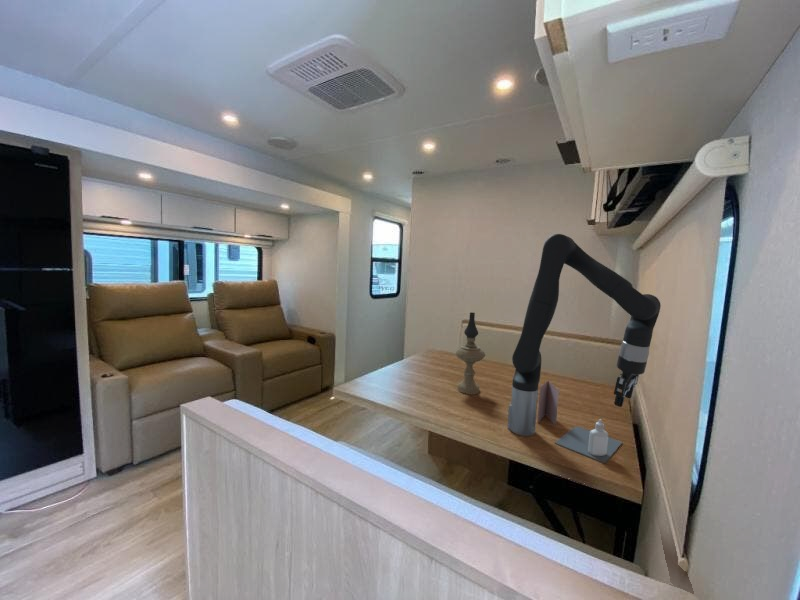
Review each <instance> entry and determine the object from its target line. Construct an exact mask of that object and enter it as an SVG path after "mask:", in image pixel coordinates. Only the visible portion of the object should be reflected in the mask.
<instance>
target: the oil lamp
mask: <svg viewBox="0 0 800 600" xmlns="http://www.w3.org/2000/svg"><path fill="white" fill-rule="evenodd" d="M475 314H476V313H475V312H473V311H472V312H469V321H468V324H467V326H466V328H465V329H464V330H463V334H464V335H465V336H466V343H465V344H462V345H461V346H460V347H458V348H457V349H456V351H455V352H454V353H455V355H456V357H457V358H458V359H459V360H461V361H463V362H464V363H465V365H466V367H465V368H464V370H463V371H462V372H463V375H464V378H463V380H462V381H461V382H459V383H458V384H457V392H459V391H460V393H461V392H462V393H461V394H465V393H466V395H476V394H479V393H480V386H479V384H478V383H477V382H476V381H475V379H474V376H475V374H476V371H475V369H474V368H473V366H474V364H475V363H476V362H480V361H482V360H483V359H484V358H485V357H486V353H485V351H484V350H483V349H482V348H481V347H480V346H479V345H476V343H475V341H476V337H477V336H478V335H479V331H478V327H476V326H477V325H476V322H475V321H476V319H475V318H476V317H475V316H476V315H475Z"/></svg>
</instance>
